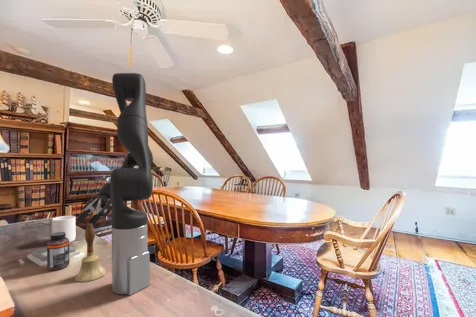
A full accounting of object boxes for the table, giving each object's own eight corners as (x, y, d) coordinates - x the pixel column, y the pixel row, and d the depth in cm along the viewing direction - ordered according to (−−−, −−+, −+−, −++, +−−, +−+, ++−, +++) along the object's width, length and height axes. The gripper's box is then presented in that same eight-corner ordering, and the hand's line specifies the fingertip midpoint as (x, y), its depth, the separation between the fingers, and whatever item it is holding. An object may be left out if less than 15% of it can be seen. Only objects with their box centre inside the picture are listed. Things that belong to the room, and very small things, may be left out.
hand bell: (69, 283, 69) (68, 228, 69) (81, 270, 77) (81, 221, 77) (100, 280, 71) (100, 226, 71) (109, 268, 79) (109, 219, 79)
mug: (45, 240, 105) (45, 217, 105) (66, 235, 112) (66, 213, 112) (57, 246, 99) (56, 221, 99) (79, 240, 106) (79, 216, 106)
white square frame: (79, 254, 90) (79, 248, 90) (40, 266, 80) (40, 259, 80) (65, 247, 97) (65, 242, 97) (27, 258, 87) (27, 252, 87)
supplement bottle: (50, 265, 81) (49, 231, 81) (71, 261, 84) (70, 229, 84) (44, 272, 76) (44, 237, 76) (67, 269, 78) (67, 234, 78)
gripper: (98, 181, 97) (66, 214, 88) (118, 182, 90) (85, 220, 80) (111, 192, 102) (82, 225, 92) (131, 195, 94) (101, 232, 84)
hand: (83, 223), depth 86 cm, fingers open, 8 cm apart
